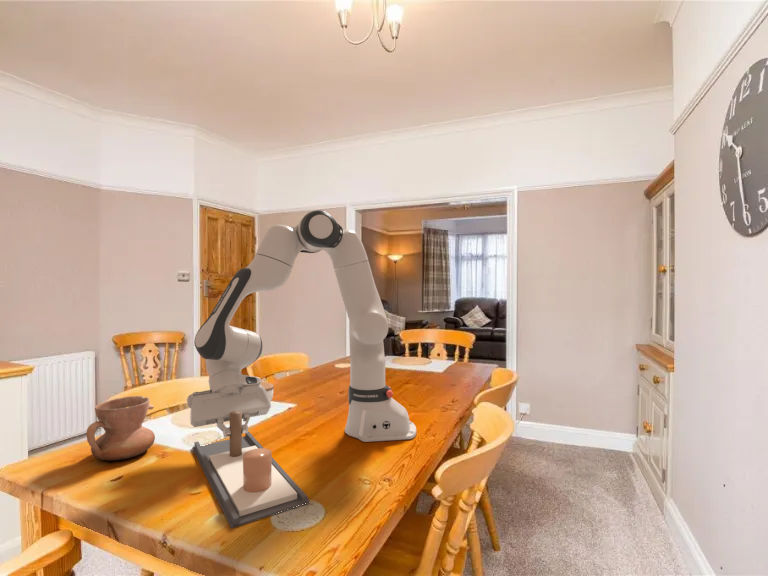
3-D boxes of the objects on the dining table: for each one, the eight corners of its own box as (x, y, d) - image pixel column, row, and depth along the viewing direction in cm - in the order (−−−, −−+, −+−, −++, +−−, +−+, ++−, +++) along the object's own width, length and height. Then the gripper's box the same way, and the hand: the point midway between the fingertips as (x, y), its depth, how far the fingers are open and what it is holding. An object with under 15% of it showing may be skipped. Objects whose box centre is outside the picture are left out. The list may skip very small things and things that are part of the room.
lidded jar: (237, 408, 149) (237, 383, 148) (256, 400, 158) (256, 377, 158) (261, 412, 145) (261, 386, 144) (279, 404, 154) (279, 379, 154)
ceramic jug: (135, 438, 120) (134, 391, 120) (171, 445, 115) (169, 396, 114) (69, 464, 104) (67, 409, 103) (106, 475, 98) (104, 416, 98)
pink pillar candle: (274, 478, 93) (274, 448, 92) (267, 492, 87) (266, 460, 86) (248, 478, 93) (248, 448, 92) (239, 492, 87) (238, 459, 86)
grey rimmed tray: (192, 448, 113) (192, 442, 113) (250, 436, 122) (250, 431, 122) (231, 528, 77) (231, 520, 77) (309, 503, 86) (309, 495, 86)
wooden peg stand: (208, 460, 105) (208, 413, 104) (255, 449, 111) (255, 405, 111) (239, 516, 80) (239, 455, 79) (297, 498, 86) (297, 442, 86)
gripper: (187, 387, 105) (194, 436, 97) (265, 376, 116) (277, 420, 108) (184, 399, 109) (191, 448, 101) (260, 388, 120) (271, 431, 112)
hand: (236, 434), depth 105 cm, fingers closed on wooden peg stand, 3 cm apart
